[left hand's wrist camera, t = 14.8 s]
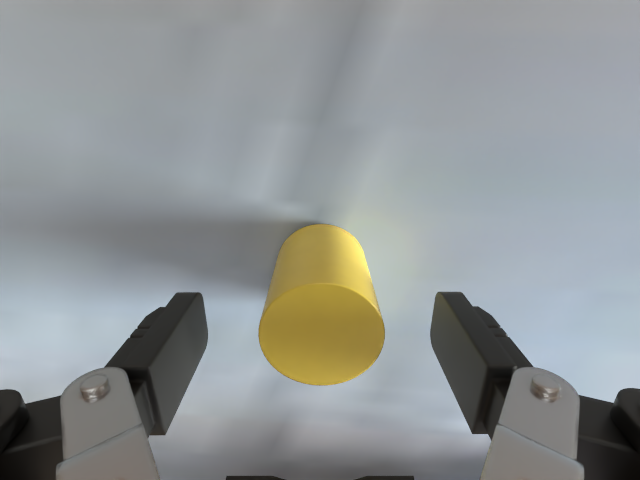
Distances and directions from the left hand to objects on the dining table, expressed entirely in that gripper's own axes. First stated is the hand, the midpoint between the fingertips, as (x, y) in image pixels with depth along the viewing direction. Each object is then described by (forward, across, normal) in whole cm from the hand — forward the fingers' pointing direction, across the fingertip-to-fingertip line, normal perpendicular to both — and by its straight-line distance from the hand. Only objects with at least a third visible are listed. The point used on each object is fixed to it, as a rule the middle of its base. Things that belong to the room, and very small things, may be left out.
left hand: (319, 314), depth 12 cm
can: (+3, 0, 0) cm, 3 cm away
